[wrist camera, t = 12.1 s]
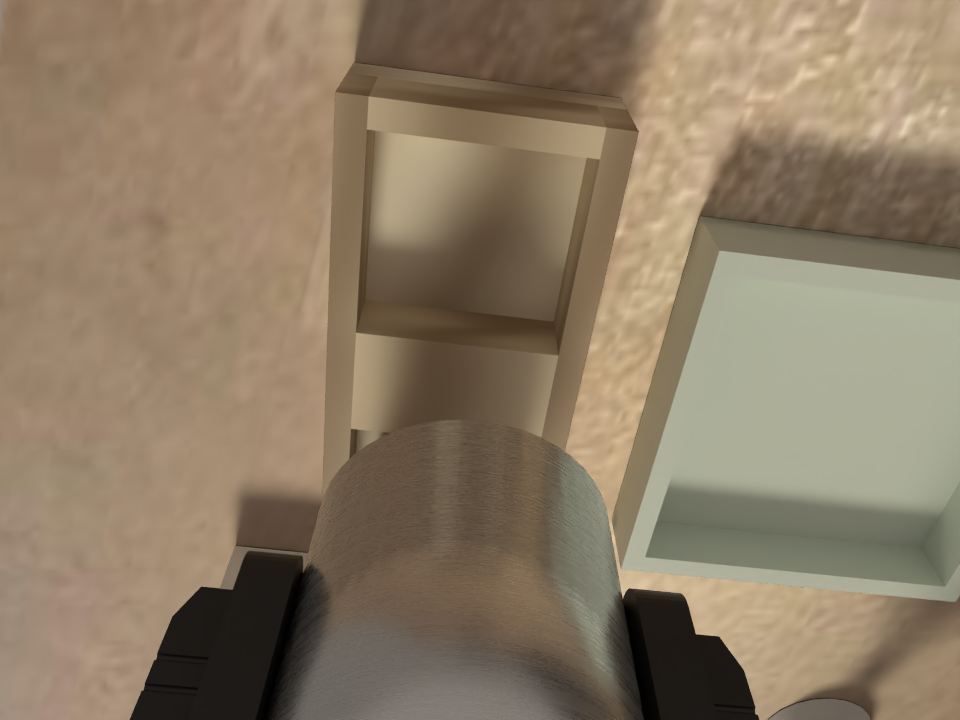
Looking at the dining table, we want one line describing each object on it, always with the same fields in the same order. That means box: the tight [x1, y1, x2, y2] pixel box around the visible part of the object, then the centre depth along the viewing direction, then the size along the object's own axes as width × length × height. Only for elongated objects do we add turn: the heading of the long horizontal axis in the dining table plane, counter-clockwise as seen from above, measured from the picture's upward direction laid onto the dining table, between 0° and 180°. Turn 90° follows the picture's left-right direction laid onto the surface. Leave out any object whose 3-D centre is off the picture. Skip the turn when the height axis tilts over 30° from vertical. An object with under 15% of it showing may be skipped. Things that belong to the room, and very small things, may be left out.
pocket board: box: [322, 63, 639, 499], centre depth 25 cm, size 7×17×3 cm, turn 173°
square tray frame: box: [612, 216, 960, 602], centre depth 27 cm, size 12×12×2 cm
